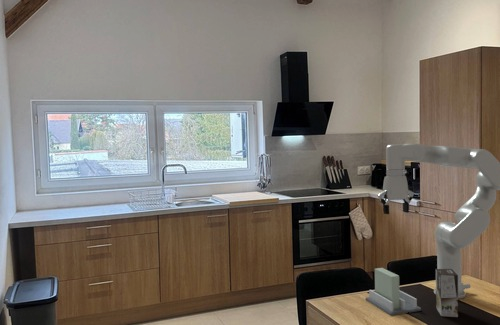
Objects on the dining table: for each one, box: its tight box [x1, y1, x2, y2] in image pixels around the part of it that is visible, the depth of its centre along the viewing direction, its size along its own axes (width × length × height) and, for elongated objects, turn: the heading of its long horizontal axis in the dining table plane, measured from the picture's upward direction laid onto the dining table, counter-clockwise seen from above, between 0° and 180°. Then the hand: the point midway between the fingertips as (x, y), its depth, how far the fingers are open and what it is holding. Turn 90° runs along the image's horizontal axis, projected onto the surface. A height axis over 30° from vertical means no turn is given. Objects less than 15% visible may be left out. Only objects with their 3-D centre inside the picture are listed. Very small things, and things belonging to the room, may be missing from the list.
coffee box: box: [435, 268, 459, 318], centre depth 172 cm, size 9×6×16 cm
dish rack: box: [365, 289, 422, 316], centre depth 182 cm, size 14×18×4 cm
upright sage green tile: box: [374, 267, 400, 309], centre depth 181 cm, size 4×12×13 cm, turn 16°
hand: (396, 213), depth 190 cm, fingers open, 9 cm apart
